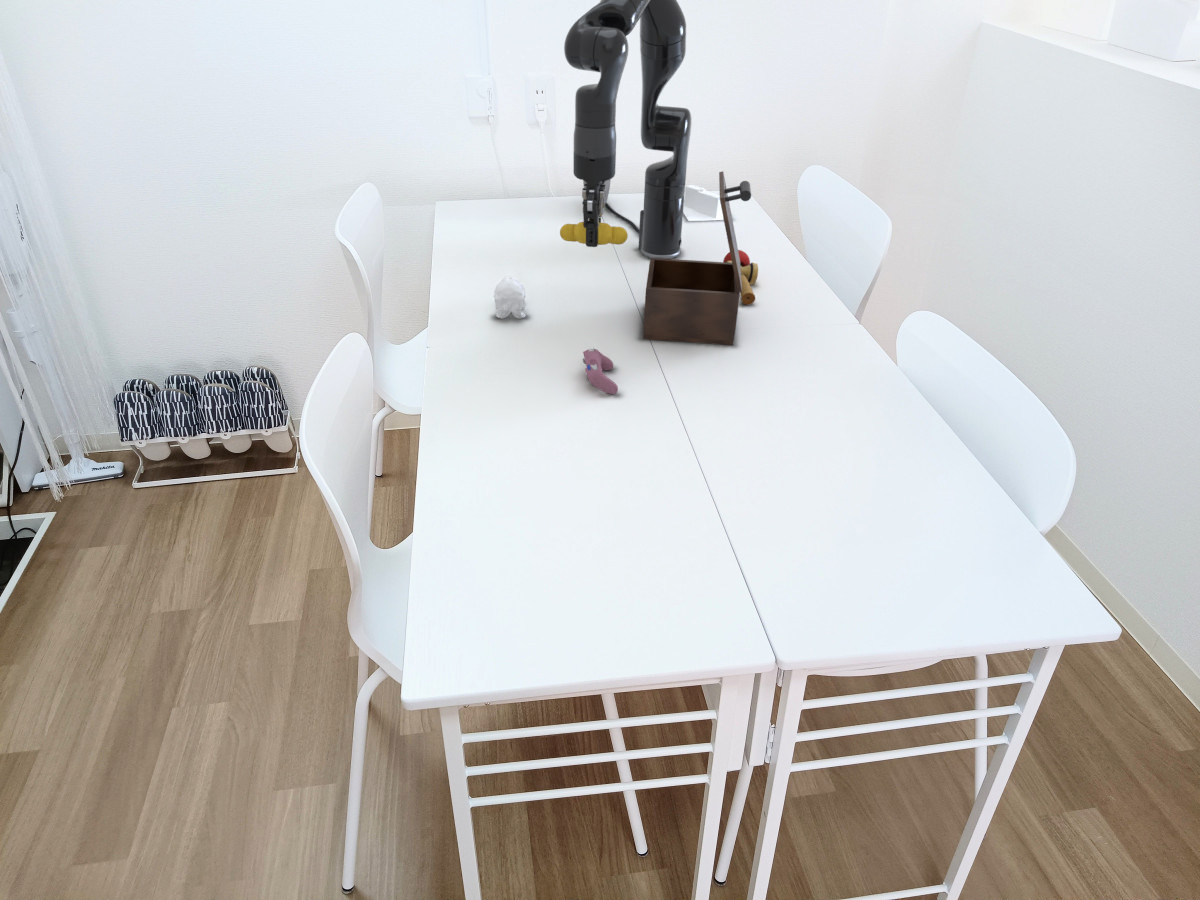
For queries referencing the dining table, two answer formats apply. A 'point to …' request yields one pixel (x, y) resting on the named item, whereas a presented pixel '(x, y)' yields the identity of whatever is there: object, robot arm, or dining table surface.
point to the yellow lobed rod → (604, 233)
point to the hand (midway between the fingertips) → (593, 240)
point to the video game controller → (599, 370)
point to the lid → (724, 200)
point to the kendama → (746, 276)
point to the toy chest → (691, 301)
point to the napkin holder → (701, 204)
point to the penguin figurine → (509, 298)
